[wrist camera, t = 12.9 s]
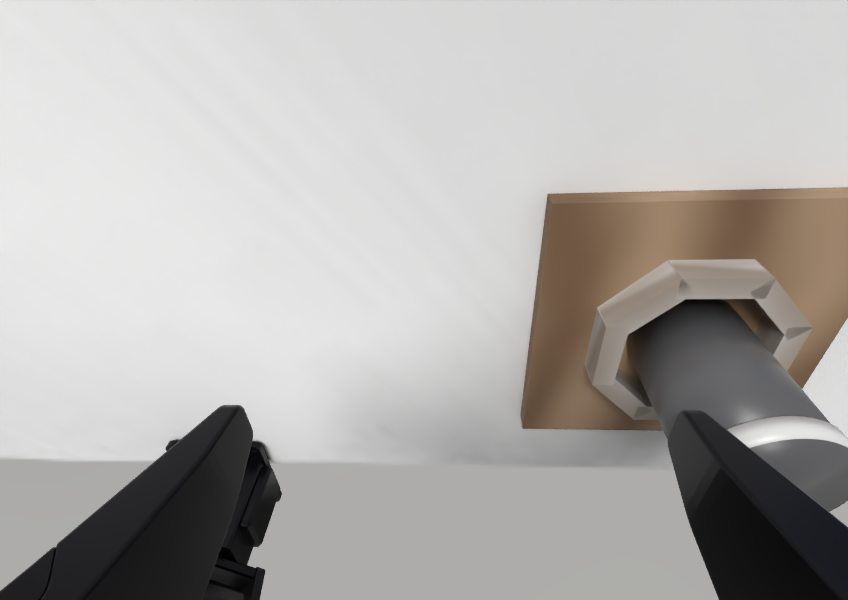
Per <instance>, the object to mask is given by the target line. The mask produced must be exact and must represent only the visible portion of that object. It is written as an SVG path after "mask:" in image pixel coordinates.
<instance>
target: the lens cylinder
mask: <svg viewBox="0 0 848 600" xmlns="http://www.w3.org/2000/svg"><path fill="white" fill-rule="evenodd" d="M627 351H628V354H629V356H630V358H631V361H632V363H633V365H634V367H635V369H636V372H637V374H638V376H639V378H640V380H641V382H642V385H643V387H644V389H645V391H646V393H647V396H648V398H649V400H650V402H651V404H652V406H653V409H654V411H655V413H656V415H657V417H658V420H659V422H660V424H661V426H662V428H663V430H664V433H665V435H666V437H667V439H668V435H669V433H670V430H671V428H672V426H673V423H674V421H675V419H676V416H677V414H678V413H679V412H680V411H681V410H700V411H703V412H705V413H707V414H708V415H709V416H710V417H712V418H713V419H714V420H715V421H717V422H718V423H719V424H720V425H722V426H723V427H724V428H725V429H727V430H728V431H729V432H730V433H732V434H733V435H734V436H735V437H737V438H738V439H739V440H740V441H742V442H743V443H744V444H745V445H746V446H748V447H749V448H750V449H751V450H753V451H754V452H755V453H756V454H758V455H759V456H760V457H761V458H763V459H764V460H765V461H766V462H768V463H769V464H770V465H771V466H773V467H774V468H775V469H776V470H777V471H779V472H780V473H781V474H782V475H784V476H785V477H786V478H787V479H789V480H790V481H791V482H792V483H794V484H795V485H796V486H797V487H799V488H800V489H801V490H802V491H804V492H805V493H806V494H807V495H809V496H810V497H811V498H812V499H813V500H815V501H816V502H817V503H818V504H820V505H821V506H822V507H823V508H825V509H826V510H827V511H828V512H830V511H831V510H833V509H835V508H837V507H839V506H840V505H842V504H844V503H845V502H846V501H848V438H847V437H846V436H845V435H844V434H843V433H842V431H840V430H839V429H838V428H837V427H835V426H834V425H832V424H830V422H829V421H828V420H827V419H826V418H825V416H824V415H823V414H822V413H821V412H820V410H819V409H818V408H817V407H816V406H815V405H814V403H813V402H812V401H811V400H810V399H809V397H808V396H807V395H806V394H805V393H804V391H803V390H802V389H801V388H800V387H799V385H798V384H797V383H796V382H795V381H794V379H793V378H792V377H791V376H790V375H789V374H788V372H787V371H786V370H785V369H784V368H783V366H782V365H781V364H780V363H779V362H778V360H777V359H776V358H775V357H774V356H773V354H772V353H771V352H770V351H769V350H768V349H767V347H766V346H765V345H764V344H763V343H762V341H761V340H760V339H759V338H758V337H757V335H756V334H755V333H754V332H753V331H752V329H751V328H750V327H749V326H748V325H747V324H746V322H745V321H744V320H743V319H742V318H741V316H740V315H739V314H738V313H737V312H736V310H735V309H734V308H733V307H732V306H731V305H730V304H729V303H728V302H726V301H725V300H723V299H685V300H684V301H682V302H680V303H679V304H677V305H676V306H674V307H672V308H671V309H669V310H667V311H666V312H664V313H663V314H661V315H659V316H658V317H656V318H654V319H653V320H651V321H650V322H648V323H646V324H645V325H643V326H641V327H640V328H638V329H637V330H635V331H633V332H632V333H630V334H628V337H627Z"/></svg>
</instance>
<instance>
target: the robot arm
mask: <svg viewBox="0 0 848 600" xmlns="http://www.w3.org/2000/svg"><path fill="white" fill-rule="evenodd" d="M252 440H253V430H252V427H251V425H250V422H249V420H248V417H247V415H246V413H245V410H244V408H243V407H242V406H240V405H223V406H221V407H219V408H218V409H216V410H215V411H214V412H213V413H212V414H211V415H209V416H208V417H207V418H206V419H205V420H203V421H202V422H201V423H200V424H199V425H197V426H196V427H195V428H194V429H193V430H192V431H190V432H189V433H188V434H187V435H186V436H184V437H183V438H182V439H181V440H173V441H170V442H169V443H168V445H167V446H166V451H167V452H165V453H164V454H163V455H162V456H161V457H160V458H158V459H157V460H156V461H155V462H154V463H152V464H151V465H150V466H149V467H148V468H147V469H145V470H144V471H143V472H142V473H141V474H140V475H138V476H137V477H136V478H135V479H133V480H132V481H131V482H130V483H129V484H128V485H126V486H125V487H124V488H123V489H122V490H120V491H119V492H118V493H117V494H116V495H115V496H113V497H112V498H111V499H110V500H109V501H107V502H106V503H105V504H104V505H103V506H101V507H100V508H99V509H98V510H97V511H96V512H94V513H93V514H92V515H91V516H90V517H88V518H87V519H86V520H85V521H84V522H83V523H81V524H80V525H79V526H78V527H77V528H76V529H74V530H73V531H72V532H71V533H70V534H68V535H67V536H66V537H65V538H64V539H62V540H61V541H60V542H59V543H58V544H57V547H53V548H51V549H50V550H49V551H48V552H47V553H46V554H45V555H43V556H42V557H41V558H40V559H38V560H37V561H36V562H35V563H34V564H33V565H31V566H30V567H29V568H28V569H26V570H25V571H24V572H23V573H22V574H20V575H19V576H18V577H17V578H15V579H14V580H13V581H12V582H11V583H9V584H8V585H7V586H6V587H4V588H3V589H2V590H1V591H0V600H260V595H261V589H262V585H263V579H264V575H265V570H264V569H261V568H259V567H257V568H253V567H250V566H247V563H248V560H249V557H250V554H251V551H252V549H253V547H258V546H260V544H262V541H263V538H264V536H265V533H266V530H267V527H268V524H269V521H270V518H271V515H272V512H273V509H274V506H275V503H276V502H277V501H279V500H280V498H281V495H282V493H281V491H280V486H279V484H278V482H277V479H276V477H275V474H274V472H273V469H272V468H271V466H270V463H269V461H268V458H267V456H266V453H265V451H264V448H263V446H262V445H261V444H260V443H257V442H252ZM668 448H669V452H670V455H671V459H672V463H673V466H674V470H675V474H676V477H677V481H678V485H679V488H680V492H681V496H682V499H683V503H684V507H685V510H686V514H687V517H688V520H689V523H690V526H691V528H692V531H693V534H694V537H695V539H696V542H697V544H698V547H699V550H700V552H701V555H702V557H703V560H704V562H705V565H706V568H707V570H708V572H709V575H710V578H711V580H712V583H713V585H714V588H715V590H716V593H717V596H718V598H719V600H848V527H847V526H846V525H844V524H843V523H842V522H841V521H839V520H838V519H837V518H836V517H835V516H833V515H832V514H831V513H830V512H828V511H827V510H826V509H825V508H823V507H822V506H821V505H820V504H818V503H817V502H816V501H815V500H813V499H812V498H811V497H810V496H809V495H807V494H806V493H805V492H804V491H802V490H801V489H800V488H799V487H797V486H796V485H795V484H794V483H792V482H791V481H790V480H789V479H787V478H786V477H785V476H784V475H782V474H781V473H780V472H779V471H777V470H776V469H775V468H774V467H773V466H771V465H770V464H769V463H768V462H766V461H765V460H764V459H763V458H761V457H760V456H759V455H758V454H756V453H755V452H754V451H753V450H751V449H750V448H749V447H748V446H746V445H745V444H744V443H743V442H742V441H740V440H739V439H738V438H737V437H735V436H734V435H733V434H732V433H730V432H729V431H728V430H727V429H725V428H724V427H723V426H722V425H720V424H719V423H718V422H717V421H715V420H714V419H713V418H712V417H710V416H709V415H708V414H707V413H705V412H703V411H700V410H681V411H680V412H679V413H678V414H677V416H676V419H675V421H674V423H673V426H672V428H671V430H670V433H669V435H668Z"/></svg>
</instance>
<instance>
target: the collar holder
mask: <svg viewBox="0 0 848 600" xmlns="http://www.w3.org/2000/svg"><path fill="white" fill-rule="evenodd" d="M685 299H723V300H725V301H726V302H728V303H729V304H730V305H731V306H732V307H733V308H734V309H735V310H736V312H737V313H738V314H739V315H740V316H741V318H742V319H743V320H744V321H745V322H746V324H747V325H748V326H749V327H750V328H751V329H752V331H753V332H754V333H755V334H756V335H757V337H758V338H759V339H760V340H761V341H762V343H763V344H764V345H765V346H766V347H767V349H768V350H769V351H770V352H771V353H772V354H773V356H774V357H775V358H776V359H777V360H778V362H779V363H780V364H781V365H782V366H783V368H784V369H785V370H786V371H787V372H788V374H789V375H790V376H791V377H792V378H793V379H794V381H795V382H796V383H797V384H798V385H799V387H800V388H801V389H802V388H803V387H804V385H805V384H806V382H807V380H808V379H809V377H810V376H811V374H812V373H813V371H814V369H815V368H816V366H817V365H818V363H819V362H820V360H821V359H822V357H823V355H824V354H825V352H826V351H827V349H828V348H829V346H830V344H831V343H832V341H833V340H834V338H835V337H836V335H837V333H838V332H839V330H840V329H841V327H842V326H843V324H844V323H845V321H846V319H847V318H848V188H808V189H760V190H712V191H664V192H616V193H569V194H548V197H547V205H546V213H545V221H544V229H543V237H542V245H541V254H540V262H539V270H538V278H537V286H536V294H535V302H534V311H533V319H532V327H531V335H530V343H529V351H528V359H527V368H526V376H525V384H524V392H523V400H522V408H521V420H522V427H523V428H529V429H599V430H663V428H662V426H661V424H660V422H659V420H658V417H657V415H656V413H655V411H654V409H653V406H652V404H651V402H650V400H649V398H648V396H647V393H646V391H645V389H644V387H643V385H642V382H641V380H640V378H639V376H638V374H637V372H636V369H635V367H634V365H633V363H632V361H631V358H630V356H629V354H628V351H627V337H628V334H630V333H632V332H633V331H635V330H637V329H638V328H640V327H641V326H643V325H645V324H646V323H648V322H650V321H651V320H653V319H654V318H656V317H658V316H659V315H661V314H663V313H664V312H666V311H667V310H669V309H671V308H672V307H674V306H676V305H677V304H679V303H680V302H682V301H684V300H685Z"/></svg>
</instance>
